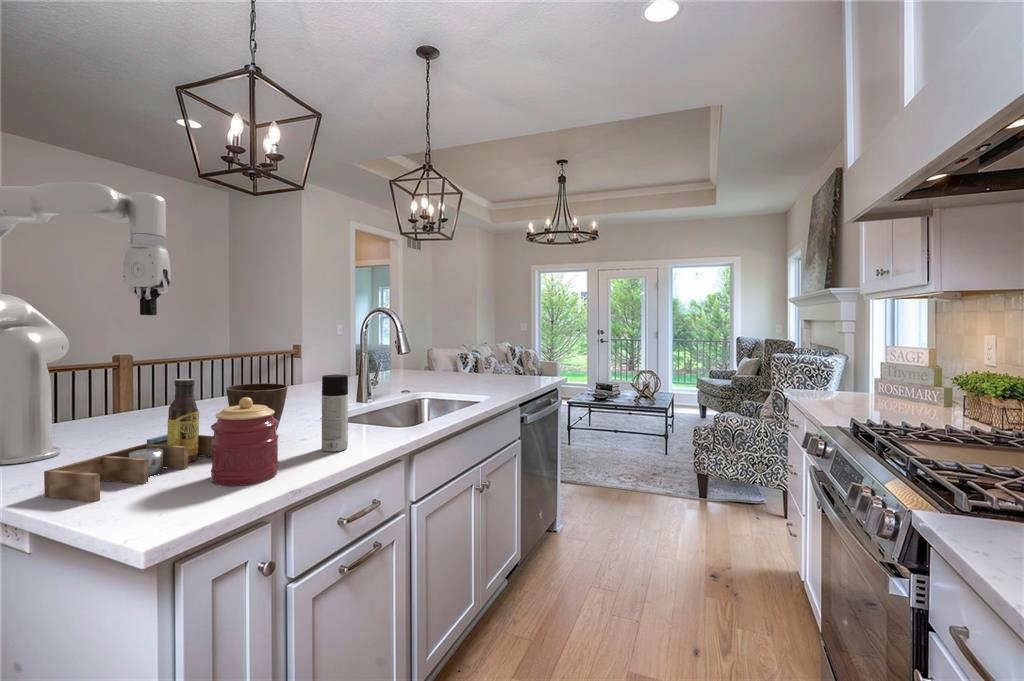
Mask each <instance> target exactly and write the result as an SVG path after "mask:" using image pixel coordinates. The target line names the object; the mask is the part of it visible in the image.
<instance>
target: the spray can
mask: <svg viewBox="0 0 1024 681" xmlns="http://www.w3.org/2000/svg"><path fill="white" fill-rule="evenodd" d="M321 379H322V380H321V450H322V451H323V452H327V453H329V452H330V453H335V452H336V451H338V452H342V450H343V451H346V450H347V449H348V446H349V441H348V440H349V375H347V374H325V375H322V377H321ZM346 448H347V449H346ZM336 453H337V452H336Z"/></svg>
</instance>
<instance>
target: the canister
mask: <svg viewBox="0 0 1024 681" xmlns="http://www.w3.org/2000/svg"><path fill="white" fill-rule="evenodd" d="M252 404H253V402H252V400H251V398H248V397H244V398H242V399H241V400H240V401H239V405H238V406H231V407H229V406H227V407H224V408H223V409H222V410H220V411H219V412H217V413H216V414H215V418H216V419H217V420H216V422H214V423H213V424H211V426H210V429H211V430H212V431H213V436H214V438H213V440H212V441H211V444H212V457H211V469H210V476H211V480H212V482H213V483H214V484H216V485H219V486H229V487H236V486H237V487H238V486H247V485H253V484H258V483H263V482H265V481H268V480H270V479H272V478H274V477H275V476H276V475H277V474H278V470H279V457H278V456H279V455H278V454H279V452H278V451H279V450H278V449H279V448H278V446H279V434H277V431H276V426H277V425H278V423H279V424H280V422H279V421H278V420H277V419H275V418H273V416H272V415H273V414H274V413H275V411H274V410H272V409H270V408H268V407H267V406H265V405H252ZM278 426H279V425H278Z"/></svg>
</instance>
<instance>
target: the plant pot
mask: <svg viewBox="0 0 1024 681" xmlns="http://www.w3.org/2000/svg"><path fill="white" fill-rule="evenodd" d="M225 390H226V396H227V401H228V402H227V403H228V407H231V406H238V405H239V401H240V400H241V399H242V398H244V397H248V398H251V400H252V402H253V404H252V405H265V406H267V407H268V408H270V409H272V410H274V411H275V413H274V414H273V415H272V416H273V418H275V419H277V420H278V421H279V423H278V425H277V426H276V432H277V431H278V428H279V425H280V421H281V418H282V415H283V411H284V407H285V403H286V398H287V392H288V385H286V384H282V383H266V382H265V383H263V382H262V383H244V384H235V385H231V386H227V387H226V388H225Z"/></svg>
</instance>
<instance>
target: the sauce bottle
mask: <svg viewBox="0 0 1024 681" xmlns="http://www.w3.org/2000/svg"><path fill="white" fill-rule="evenodd" d="M195 383H196V380H195V378H176V379H174V383H173V385H174V387H175V388H174V399H173V400H172V402H171V404H170V405H169V408H168V416H167V434H166V435H167V445H171V446H185V447H188V463H191V462H194V461H196V460H197V459H198V457H199V456H198V441H199V435H200V434H199V432H200V430H199V429H200V410H199V409H198V406H197V403H196V400H195V394H194V390H195V387H194V386H195Z"/></svg>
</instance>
